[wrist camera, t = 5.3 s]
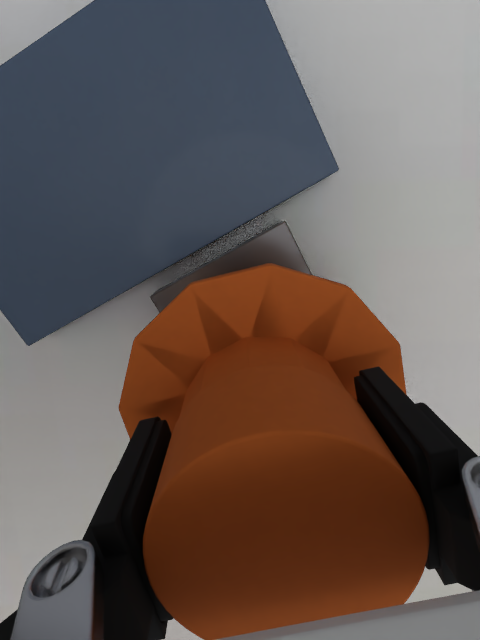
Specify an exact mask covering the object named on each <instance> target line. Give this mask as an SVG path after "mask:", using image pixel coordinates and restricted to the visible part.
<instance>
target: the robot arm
mask: <svg viewBox="0 0 480 640" xmlns="http://www.w3.org/2000/svg"><path fill="white" fill-rule="evenodd" d="M354 384H355V390H356V396H357V402H358V403H359V404H360V405H361V407H362V408H363V410H364V411H365V413H366V414H367V416H368V417H369V419H370V420H371V422H372V423H373V425H374V427H375V428H376V430H377V431H378V433H379V434H380V436H381V437H382V439H383V440H384V442H385V443H386V445H387V446H388V448H389V449H390V451H391V452H392V454H393V455H394V457H395V458H396V460H397V461H398V463H399V464H400V466H401V467H402V469H403V470H404V472H405V473H406V475H407V476H408V478H409V479H410V481H411V483H412V484H413V486H414V487H415V489H416V491H417V492H418V494H419V496H420V498H421V501H422V503H423V506H424V508H425V511H426V516H427V520H428V525H429V550H428V558H427V561H426V564H425V566H426V568H427V569H436V571H437V573H438V574H439V576H440V578H441V580H442V582H443V583H444V585H448V584H454V583H459V584H461V585H464V586H466V587H468V588H470V589H472V592H468V593H462V594H457V595H451V596H446V597H440V598H435V599H429V600H424V601H419V602H413V603H408V604H402V605H397V606H391V607H386V608H380V609H375V610H369V611H364V612H358V613H353V614H348V615H342V616H337V617H332V618H326V619H321V620H316V621H310V622H305V623H300V624H295V625H289V626H284V627H279V628H273V629H268V630H263V631H258V632H252V633H247V634H242V635H237V636H231V637H226V638H221V639H216V640H480V456H477V455H476V454H475V453H474V452H473V451H472V450H471V449H470V448H469V447H468V446H467V445H466V444H465V443H464V442H463V441H462V440H461V439H460V438H459V437H458V436H457V435H456V434H455V433H454V432H453V431H452V430H451V429H450V428H449V427H448V426H447V425H446V424H445V423H444V422H443V421H442V420H441V419H440V418H439V417H438V416H437V415H436V414H435V413H434V412H433V411H432V410H431V409H430V408H429V407H428V406H427V405H426V404H424V403H417V404H414V402H413V401H412V400H411V399H410V398H409V397H408V396H407V395H406V394H405V393H404V392H403V391H402V390H401V389H400V388H399V387H398V386H397V385H396V384H395V383H394V381H393V380H392V379H391V378H390V377H389V376H388V375H387V374H386V373H385V372H384V371H383V370H382V369H381V368H380V367H379V366H378V367H374V368H369V369H365V370H360V371H359V376H356V377H354ZM171 435H172V434H171V431H170V428H169V425H168V422H167V421H166V420H161V419H160V417H158V416H157V417H153V418H148V419H144V420H140V421H139V423H138V425H137V427H136V429H135V431H134V433H133V435H132V437H131V440H130V442H129V444H128V446H127V448H126V450H125V452H124V454H123V457H122V459H121V461H120V463H119V465H118V467H117V469H116V471H115V472H114V474H113V476H112V478H111V480H110V482H109V484H108V486H107V489H106V491H105V493H104V495H103V497H102V499H101V501H100V503H99V505H98V508H97V510H96V512H95V514H94V516H93V518H92V520H91V522H90V524H89V527H88V529H87V531H86V533H85V535H84V537H83V539H82V540H77V541H72V542H69V543H66V544H63V545H62V546H60V547H58V548H56V549H55V550H53V551H52V552H50V553H49V554H48V555H47V556H45V557H44V558H43V559H42V560H41V561H40V562H39V563H38V564H37V565H36V566H35V567H34V569H33V570H32V572H31V573H30V574H29V576H28V577H27V580H26V582H25V585H24V587H23V591H22V595H21V599H20V603H19V607H18V610H16V611H15V612H14V613H13V614H11V615H10V616H9V617H8V618H6V619H5V620H4V621H3V622H2V623H0V640H161V639H165V634H166V628H167V622H168V620H172V619H173V617H172V616H171V614H170V613H169V612H168V611H167V610H166V609H165V608H164V607H163V605H162V604H161V602H160V601H159V600H158V598H157V597H156V595H155V593H154V591H153V589H152V587H151V585H150V582H149V579H148V576H147V573H146V570H145V564H144V558H143V536H144V530H145V525H146V521H147V517H148V514H149V511H150V507H151V504H152V500H153V497H154V494H155V490H156V487H157V483H158V480H159V476H160V473H161V470H162V466H163V463H164V459H165V456H166V453H167V449H168V446H169V442H170V439H171Z"/></svg>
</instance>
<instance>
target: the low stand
mask: <svg viewBox="0 0 480 640" xmlns="http://www.w3.org/2000/svg"><path fill="white" fill-rule="evenodd" d="M338 170H339V168H338V166H337V164H336V161H335V159H334V157H333V154H332V152H331V150H330V148H329V145H328V143H327V141H326V138H325V136H324V134H323V132H322V129H321V127H320V125H319V122H318V120H317V118H316V116H315V113H314V111H313V109H312V106H311V104H310V102H309V100H308V97H307V95H306V93H305V90H304V88H303V86H302V84H301V81H300V79H299V77H298V74H297V72H296V70H295V68H294V65H293V63H292V61H291V59H290V56H289V54H288V52H287V49H286V47H285V45H284V43H283V40H282V38H281V36H280V33H279V31H278V29H277V27H276V24H275V22H274V20H273V17H272V15H271V13H270V11H269V8H268V6H267V4H266V1H265V0H94V1H93V2H91V3H90V4H89V5H87V6H86V7H84V8H83V9H81V10H80V11H78V12H77V13H76V14H74V15H73V16H71V17H70V18H68V19H67V20H66V21H64V22H63V23H61V24H60V25H58V26H57V27H55V28H54V29H53V30H51V31H50V32H48V33H47V34H45V35H44V36H43V37H41V38H40V39H38V40H37V41H35V42H34V43H32V44H31V45H30V46H28V47H27V48H25V49H24V50H22V51H21V52H20V53H18V54H17V55H15V56H14V57H12V58H11V59H9V60H8V61H7V62H5V63H4V64H2V65H1V66H0V310H1V311H2V313H3V314H4V315H5V317H6V318H7V319H8V321H9V322H10V323H11V325H12V326H13V327H14V328H15V330H16V331H17V332H18V334H19V335H20V336H21V338H22V339H23V340H24V342H25V343H26V344H27V345H28V346H30V345H32V344H33V343H35V342H37V341H39V340H40V339H42V338H44V337H46V336H47V335H49V334H51V333H53V332H54V331H56V330H58V329H60V328H62V327H63V326H65V325H67V324H69V323H70V322H72V321H74V320H76V319H77V318H79V317H81V316H83V315H84V314H86V313H88V312H90V311H91V310H93V309H95V308H97V307H99V306H100V305H102V304H104V303H106V302H107V301H109V300H111V299H113V298H114V297H116V296H118V295H120V294H121V293H123V292H125V291H127V290H129V289H130V288H132V287H134V286H136V285H137V284H139V283H141V282H143V281H144V280H146V279H148V278H150V277H151V276H153V275H155V274H157V273H158V272H160V271H162V270H164V269H166V268H167V267H169V266H171V265H173V264H174V263H176V262H178V261H180V260H181V259H183V258H185V257H187V256H188V255H190V254H192V253H194V252H195V251H197V250H199V249H201V248H203V247H204V246H206V245H208V244H210V243H211V242H213V241H215V240H217V239H218V238H220V237H222V236H224V235H225V234H227V233H229V232H231V231H233V230H234V229H236V228H238V227H240V226H241V225H243V224H245V223H247V222H248V221H250V220H252V219H254V218H255V217H257V216H259V215H261V214H262V213H264V212H266V211H268V210H270V209H271V208H273V207H275V206H277V205H278V204H280V203H282V202H284V201H285V200H287V199H289V198H291V197H292V196H294V195H296V194H298V193H299V192H301V191H303V190H305V189H307V188H308V187H310V186H312V185H314V184H315V183H317V182H319V181H321V180H322V179H324V178H326V177H328V176H329V175H331V174H333V173H335V172H337V171H338Z"/></svg>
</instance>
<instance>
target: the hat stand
mask: <svg viewBox="0 0 480 640" xmlns="http://www.w3.org/2000/svg"><path fill="white" fill-rule="evenodd" d="M267 263H272V264H276V265H279V266H283V267H286V268H289V269H293V270H296V271H300V272H303V273H306V274H310V275H312V274H311V272H310V270H309V268H308V266H307V264H306V262H305V260H304V258H303V256H302V254H301V252H300V250H299V248H298V246H297V244H296V242H295V240H294V238H293V236H292V234H291V232H290V230H289V228H288V226H287V224H286V222H285V221H281V222H279V223H277V224H275V225H274V226H272V227H270V228H268V229H266V230H265V231H263V232H261V233H259V234H258V235H256V236H254V237H252V238H250V239H249V240H247V241H245V242H243V243H242V244H240V245H238V246H236V247H234V248H233V249H231V250H229V251H227V252H225V253H224V254H222V255H220V256H218V257H217V258H215V259H213V260H211V261H209V262H208V263H206V264H204V265H202V266H200V267H199V268H197V269H195V270H193V271H192V272H190V273H188V274H186V275H184V276H183V277H181V278H179V279H177V280H175V281H174V282H172V283H170V284H168V285H167V286H165V287H163V288H161V289H159V290H158V291H156V292H155V293H154V294H153V295H151V296H150V298H151V300H152V301H153V303H154V304H155V306H156V307H157V309H158V311H159V312H161V311H162V310H163V309H164V308H165V307H166V306H167V305H168V304H170V303H171V302H172V301H173V300H174V299H175V298H176V297H177V296H178V295H179V294H180V293H181V292H182V291H183V290H184V289H185V288H186V287H187V286H188V285H189V284H190V283H192V282H194V281H198V280H202V279H206V278H210V277H214V276H219V275H223V274H227V273H231V272H235V271H239V270H243V269H247V268H251V267H255V266H259V265H263V264H267Z"/></svg>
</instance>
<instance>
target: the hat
mask: <svg viewBox="0 0 480 640" xmlns="http://www.w3.org/2000/svg"><path fill="white" fill-rule="evenodd" d="M378 366H379V367H380V368H381V369H382V370H383V371H384V372H385V373H386V374H387V375H388V376H389V377H390V378H391V379H392V380H393V381H394V383H395V384H396V385H397V386H398V387H399V388H400V389H401V390H402V391H403V392H404V393H405V394H406V388H405V380H404V372H403V365H402V357H401V349H400V344H399V342H398V341H397V340H396V339H395V338H394V337H393V336H392V334H391V333H390V332H389V331H388V330H387V329H386V328H385V326H384V325H383V324H382V323H381V322H380V321H379V320H378V319H377V317H376V316H375V315H374V314H373V313H372V312H371V311H370V310H369V308H368V307H367V306H366V305H365V304H364V303H363V302H362V300H361V299H360V298H359V297H358V296H357V295H356V294H355V293H354V291H353V290H352V289H351V288H349V287H348V286H346V285H344V284H341V283H337V282H334V281H330V280H327V279H324V278H320V277H317V276H313V275H310V274H306V273H303V272H300V271H296V270H293V269H289V268H286V267H283V266H279V265H276V264H272V263H267V264H263V265H259V266H255V267H251V268H247V269H243V270H239V271H235V272H231V273H227V274H223V275H219V276H214V277H210V278H206V279H202V280H198V281H194V282H192V283H190V284H189V285H188V286H187V287H186V288H185V289H184V290H183V291H182V292H181V293H180V294H179V295H178V296H177V297H176V298H175V299H174V300H173V301H172V302H171V303H170V304H168V305H167V306H166V307H165V308H164V309H163V310H162V311H161V312H160V313H159V314H158V315H157V316H156V317H155V318H154V319H153V320H152V321H151V322H150V323H149V324H148V325H147V326H146V327H145V328H144V329H143V330H142V331H141V332H140V333H139V334H138V335H137V336H136V338H135V339H134V341H133V345H132V350H131V354H130V359H129V363H128V368H127V372H126V377H125V381H124V386H123V390H122V395H121V399H120V404H119V411H120V414H121V416H122V419H123V422H124V424H125V427H126V429H127V432H128V435H129V437H130V440H131V437H132V435H133V433H134V431H135V429H136V427H137V425H138V423H139V421H140V420H144V419H148V418H153V417H157V416H158V417H160V419H161V420H166V421H167V422H168V425H169V428H170V431H171V434H172V435H171V439H170V442H169V446H168V449H167V453H166V456H165V459H164V463H163V466H162V470H161V473H160V476H159V480H158V483H157V487H156V490H155V494H154V497H153V500H152V504H151V507H150V511H149V514H148V517H147V521H146V525H145V530H144V536H143V558H144V564H145V570H146V573H147V576H148V579H149V582H150V585H151V587H152V589H153V591H154V593H155V595H156V597H157V598H158V600H159V601H160V602H161V604H162V605H163V607H164V608H165V609H166V610H167V611H168V612H169V613H170V614H171V616H172V617H173V618H174V619H175V620H176V621H178V622H179V623H180V624H181V625H183V626H184V627H185V628H186V629H188V630H189V631H191V632H192V633H194V634H196V635H197V636H199V637H200V638H202V639H204V640H216V639H221V638H226V637H231V636H237V635H242V634H247V633H252V632H258V631H263V630H268V629H273V628H279V627H284V626H289V625H295V624H300V623H305V622H310V621H316V620H321V619H326V618H332V617H337V616H342V615H348V614H353V613H358V612H364V611H369V610H375V609H380V608H386V607H391V606H397V605H402V604H404V603H405V602H406V601H407V599H408V598H409V597H410V595H411V594H412V592H413V591H414V589H415V588H416V586H417V584H418V582H419V580H420V578H421V576H422V574H423V571H424V568H425V564H426V561H427V558H428V550H429V525H428V520H427V516H426V511H425V508H424V506H423V503H422V501H421V498H420V496H419V494H418V492H417V491H416V489H415V487H414V486H413V484H412V483H411V481H410V479H409V478H408V476H407V475H406V473H405V472H404V470H403V469H402V467H401V466H400V464H399V463H398V461H397V460H396V458H395V457H394V455H393V454H392V452H391V451H390V449H389V448H388V446H387V445H386V443H385V442H384V440H383V439H382V437H381V436H380V434H379V433H378V431H377V430H376V428H375V427H374V425H373V423H372V422H371V420H370V419H369V417H368V416H367V414H366V413H365V411H364V410H363V408H362V407H361V405H360V404H359V403H358V402H357V396H356V390H355V384H354V377H356V376H359V371H360V370H365V369H369V368H374V367H378Z"/></svg>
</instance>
